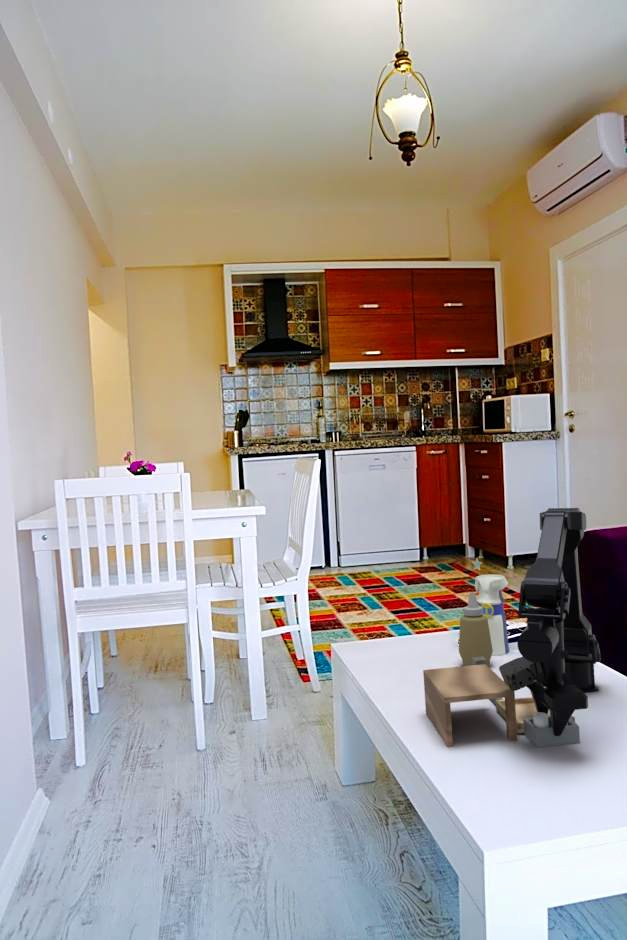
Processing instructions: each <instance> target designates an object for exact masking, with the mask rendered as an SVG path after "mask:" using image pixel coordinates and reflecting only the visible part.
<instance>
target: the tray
mask: <svg viewBox="0 0 627 940" xmlns="http://www.w3.org/2000/svg"><path fill="white" fill-rule="evenodd" d="M523 723H524V733H523V735H524V736H525V737H526V738H527V739H528V740H529V741H530V742H531V743H532V744H533V745H534V747H535V748H543V747H551V745H552V747H553V746H562V745H561V744H563V745H571V744H572V743H573V744H580V743H581V739H580V726H579V725H578V724H577V722H576V721H575V722H574V721H572V720H571V719H569V721H568V723H567V724H566V726H565V728H564V730H563V732H562V734H561V736H555V735H554V732H553V728H552V722H551V716H548V714H546V713H543V712H536V713H534V714H533V718H523ZM573 744H572V745H573Z"/></svg>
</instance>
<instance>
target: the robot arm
mask: <svg viewBox="0 0 627 940" xmlns="http://www.w3.org/2000/svg"><path fill="white" fill-rule="evenodd" d="M539 530H540V531H541V534H540V538H539V543H538V549H537V553H536V554H537V555H536V560H535V563H533V564H532V565H530V566H529V567H528V568H527V569H526V572H525V576H524V580H522V581H521V583H520V588H519V600H518V601H519V602H518V612H517V617H518V618H522V619H523V618H524V619H526V622H527V624H526V626H525V628H524V629H523V631H522V632H521V633H520V635H519V637H518V640H517V643H516V644H517V649H518V651H519V653H520V655H521V657H517V658H514V659H512V660H510V661H508V662H506V663H504V664H501V665H500V666H499V667H498V670H499V672H500V675H501V677H502V680H503V681H504V682H505V684H506V685H507V686H508V687H509V688H510V689H511V690H512V691H514V692H515V691H516V692H517V691H519V690H521V689H523V688H528V690H529V692H530V695H531V697H533V701H534V704H535V707H536V710H537V712H543V713H546V714H548V710H550V716H551V722H552V728H553V732H554V735H555V736H561V734H562V732H563V730H564V728H565V726H566V724H567V723H568V721H569V719H570V717H571V715H572V716H573V714H574V713H575V711H576V710H585V709H588V708H589V697H588V695H587V694H586V693H588V692H594V691H595V692H596V691H599V690H600V688H599V687H598V686H597V685H596V681H595V665H596V663H599V662H601V650H600V647H599V646H600V645H599V642H598V641H597V638H596V635H595V634H593V631H592V624H591V622H589V620H588V619H587V617H586V615H584V613H583V605H582V597H581V596H582V595H581V581H580V569H579V567H580V566H579V553H578V546H579V544H580V543H581V541H582V539H583V538H584V536H585V535H584V534H585V531H586V530H587V516H586V513H585V512H582V511H581V510H580V508H579V507H557V508H556V507H552V508H551V507H549V508H548V509H547V510H545V511H542V512H539ZM526 604H527V605H528V607H527V606H526Z"/></svg>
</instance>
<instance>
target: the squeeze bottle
mask: <svg viewBox="0 0 627 940" xmlns="http://www.w3.org/2000/svg"><path fill="white" fill-rule="evenodd" d="M477 599H478V598H477V595H476V593H475V591H474V592H473V591H470V592H469V595H468V602H467V606H464V607H463V614H462V616H461V617H460V618H459V639H458V643H459V644H458V653H459V655H460V658H461V660H462V663H463V666H472V658H473V657H484V658H485V659H486V660H487V666H488V667H489V666H490V662H491V659H492V652H493V649H492V643H491V637H490V631H489V625H488V619H487V617H486V616H484V615H483V607H481V606H479V603H478V602H477Z"/></svg>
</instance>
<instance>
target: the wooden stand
mask: <svg viewBox="0 0 627 940" xmlns="http://www.w3.org/2000/svg"><path fill="white" fill-rule="evenodd" d="M422 671H423V673H422V674H423V687H424V689H423V691H424V701H425V702H424V703H425V714H426V716H427V717H428V719H429V720H430V722H431V724H432V726H433V727H434V728H435V730H436V731H437V733H438V735H439V736H440V738H441V740H442V741H443V743H444V744H445V745H446V747H447V748H451V747H454V744H453V743H454V742H453V726H452V725H453V724H452V710H451V703H452V704H453V703H462V702H463V703H464V702H471V701H483V700H491V699H494V698H503V699H504V700H505V711H506V720H505V724H506V738H507V739H508V740H509V741H518V733H517V726H516V709H515V699H516V697H515V696H516V695H515V691H512V690H511V689H510V688H509V687H508V686H507V685H506V684H505V682H504V680H503V678H501V677H500V676H499V675H498V674H496V673H495V671H493V670H492V669H491V668H490V667H489V666H487V665H486V664H482V665H472V666H464V665H462V666H453V667H452V666H450V667H442V668H432V669H430V668H429V669H423V670H422Z"/></svg>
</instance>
